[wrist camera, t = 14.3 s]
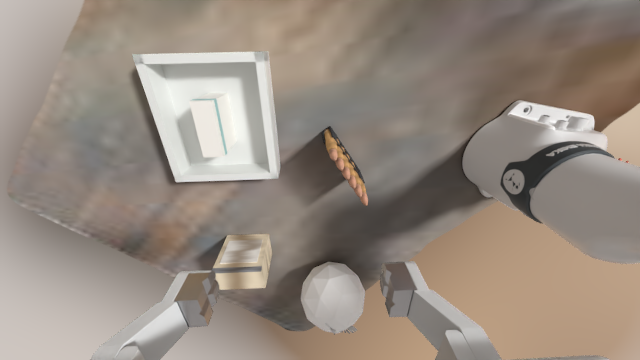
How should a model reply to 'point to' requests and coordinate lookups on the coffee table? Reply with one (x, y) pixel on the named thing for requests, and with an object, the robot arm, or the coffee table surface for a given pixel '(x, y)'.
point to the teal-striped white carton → (213, 123)
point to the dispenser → (243, 262)
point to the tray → (245, 102)
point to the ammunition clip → (345, 163)
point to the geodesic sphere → (333, 297)
